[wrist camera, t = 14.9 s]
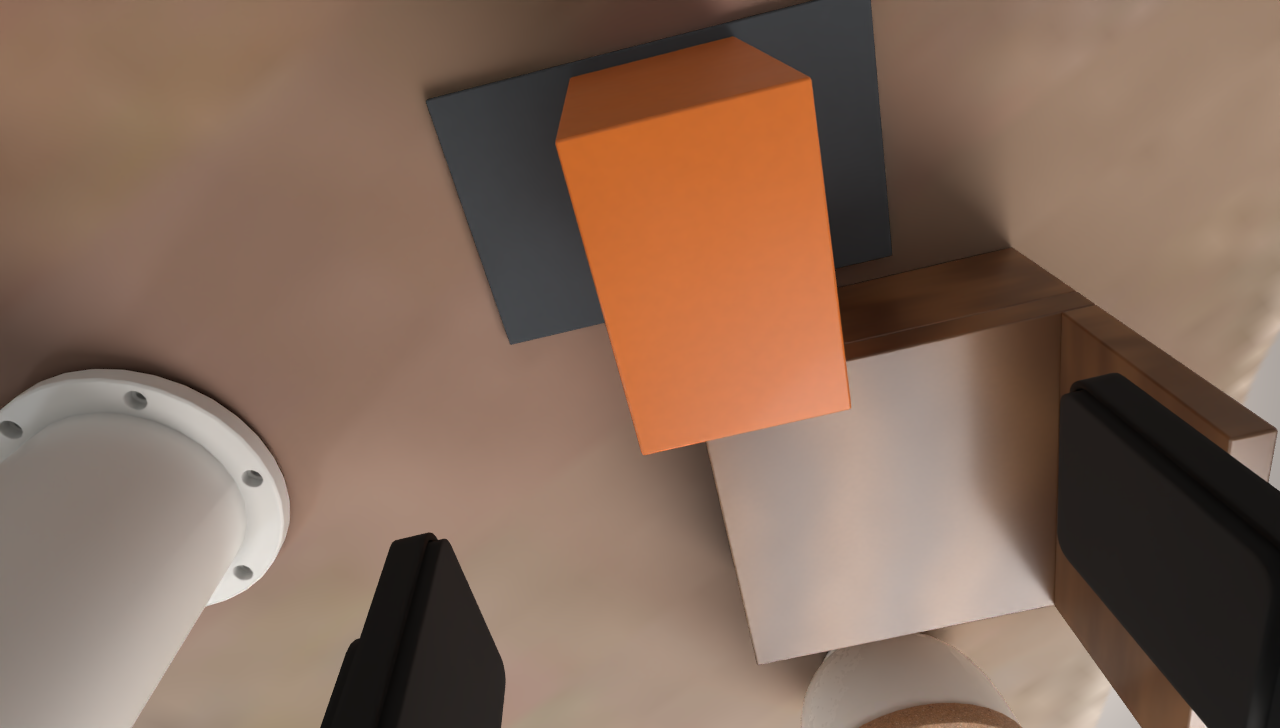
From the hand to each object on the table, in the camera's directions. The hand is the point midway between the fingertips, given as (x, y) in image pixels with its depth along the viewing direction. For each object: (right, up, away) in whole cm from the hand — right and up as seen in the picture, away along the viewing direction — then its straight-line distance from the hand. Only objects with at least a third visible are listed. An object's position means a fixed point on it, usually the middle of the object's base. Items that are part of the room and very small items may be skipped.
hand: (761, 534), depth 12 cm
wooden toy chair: (+8, 0, +24) cm, 25 cm away
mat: (-1, +10, +18) cm, 21 cm away
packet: (0, +10, +18) cm, 20 cm away
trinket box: (+11, -14, +31) cm, 36 cm away
